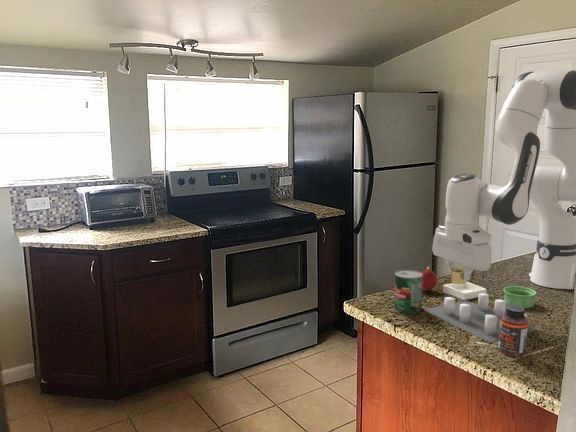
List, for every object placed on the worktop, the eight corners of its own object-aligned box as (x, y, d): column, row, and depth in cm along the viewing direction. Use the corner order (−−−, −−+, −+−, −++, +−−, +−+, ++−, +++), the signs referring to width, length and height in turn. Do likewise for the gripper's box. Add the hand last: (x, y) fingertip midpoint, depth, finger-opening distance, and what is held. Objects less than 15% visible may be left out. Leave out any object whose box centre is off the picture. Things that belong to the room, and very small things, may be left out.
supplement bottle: (494, 352, 124) (497, 307, 122) (504, 345, 128) (507, 301, 126) (519, 360, 120) (523, 314, 118) (529, 352, 124) (533, 307, 122)
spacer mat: (466, 301, 158) (467, 286, 158) (536, 330, 136) (538, 313, 135) (422, 310, 151) (423, 294, 150) (489, 343, 129) (490, 325, 128)
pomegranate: (437, 294, 165) (438, 270, 163) (418, 293, 166) (419, 269, 165) (436, 288, 170) (437, 265, 169) (417, 287, 172) (418, 264, 170)
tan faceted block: (459, 278, 154) (459, 267, 154) (469, 282, 151) (469, 271, 150) (447, 281, 152) (447, 269, 152) (457, 285, 149) (457, 273, 148)
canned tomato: (425, 308, 154) (426, 272, 152) (415, 316, 147) (417, 279, 145) (400, 302, 158) (401, 268, 156) (389, 311, 152) (390, 274, 150)
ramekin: (535, 312, 150) (536, 297, 149) (501, 307, 153) (502, 293, 153) (535, 301, 158) (536, 288, 157) (503, 298, 161) (504, 284, 161)
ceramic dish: (464, 288, 171) (464, 280, 170) (486, 296, 162) (486, 288, 162) (442, 292, 167) (443, 285, 166) (463, 301, 159) (464, 293, 158)
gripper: (427, 225, 156) (426, 269, 159) (478, 240, 138) (476, 289, 141) (444, 223, 159) (442, 266, 162) (496, 237, 141) (493, 285, 144)
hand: (459, 277), depth 151 cm, fingers closed on tan faceted block, 4 cm apart
